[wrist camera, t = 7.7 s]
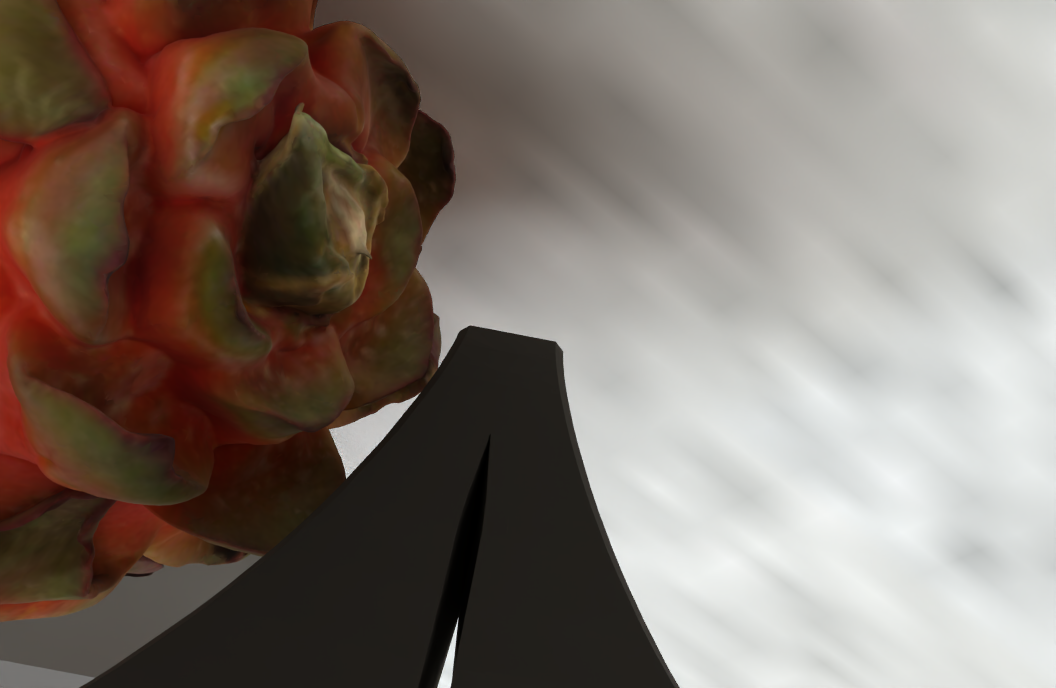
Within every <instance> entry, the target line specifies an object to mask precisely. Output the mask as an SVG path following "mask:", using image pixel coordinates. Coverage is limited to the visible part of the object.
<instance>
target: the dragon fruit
mask: <svg viewBox="0 0 1056 688" xmlns="http://www.w3.org/2000/svg"><path fill="white" fill-rule="evenodd" d="M317 2H318V0H0V622H5V621H13V620H23V619H38V618H49V617H59V616H64V615H68V614H72V613H75V612H78V611H81V610H83V609H86V608H89V607H92V606H94V605H96V604H97V603H99V602H100V601H101V600H103V599H104V598H105V597H106V596H108V595H109V594H110V593H111V592H112V591H113V590H114V589H115V587H116V586H117V585H118V584H119V583H120V581H121V580H122V579H123V577H124V576H131V577H145V576H149V575H152V574H153V573H154V572H155V571H158V570H160V569H162V568H163V567H164V565H166V566H171V567H181V566H184V565H186V564H205V565H208V566H209V565H222V564H229V563H235V562H238V561H240V560H242V559H244V558H245V557H247V556H248V555H250V554H252V555H256V556H261V557H263V556H264V555H265V554H266V553H268V552H269V551H270V550H271V549H273V548H274V547H275V546H276V545H277V544H278V543H279V542H281V541H282V540H283V539H284V538H285V537H286V536H287V535H288V534H290V533H291V532H292V531H293V530H294V529H295V528H296V527H297V526H298V525H300V524H301V523H302V522H303V521H304V520H305V519H306V518H307V517H308V516H309V515H310V514H312V513H313V512H314V511H315V510H316V509H317V508H318V507H319V506H320V505H321V504H322V503H323V502H324V501H325V500H326V499H327V498H328V497H329V496H330V495H331V494H332V493H333V492H334V491H335V490H336V489H337V488H338V487H339V486H340V485H341V484H342V483H343V482H344V481H345V480H346V475H345V469H344V466H343V463H342V460H341V457H340V455H339V453H338V450H337V448H336V445H335V443H334V440H333V438H332V436H331V434H330V431H329V430H328V429H333V428H337V427H341V426H345V425H347V424H350V423H353V422H355V421H357V420H359V419H361V418H363V417H366V416H368V415H370V414H374V413H376V412H377V411H378V410H380V409H381V408H382V407H384V406H385V405H388V404H391V403H401V402H403V401H406V400H408V399H410V398H413V397H414V396H416V395H418V394H419V393H420V392H422V390H423V389H424V387H425V386H426V385H427V383H428V382H429V381H430V379H431V378H432V376H433V375H434V374H435V372H436V371H437V369H438V360H439V356H440V352H441V333H440V327H439V317H438V316H437V315H436V314H434V313H433V305H432V298H431V294H430V291H429V288H428V286H427V284H426V282H425V280H424V279H423V277H422V276H421V275H420V273H419V272H418V271H417V269H416V268H415V267H416V264H417V261H418V257H419V255H420V253H421V251H422V246H421V245H422V243H423V242H424V239H425V237H426V235H427V234H428V232H429V229H430V227H431V225H432V223H433V222H434V220H435V218H436V216H437V215H438V213H439V212H440V210H441V209H442V208H443V207H444V206H445V205H446V204H447V203H448V202H449V201H450V199H451V198H452V196H453V192H454V185H455V181H456V174H455V166H454V150H453V146H452V142H451V138H450V135H449V133H448V131H447V130H446V129H445V128H444V127H443V125H442V124H440V123H438V122H436V121H434V120H433V119H431V118H430V117H429V116H428V115H427V114H425V113H424V112H422V111H420V110H418V109H419V104H420V101H421V97H420V92H419V88H418V85H417V84H416V82H415V81H414V80H413V79H412V77H411V75H410V73H409V71H408V69H407V67H406V66H405V64H404V63H403V61H402V59H401V58H400V57H399V56H398V55H397V54H396V53H395V52H394V51H393V50H392V49H391V48H390V47H389V46H388V45H387V44H386V43H385V42H383V41H382V40H381V39H380V38H379V37H377V36H376V35H375V34H374V33H373V32H372V31H371V30H370V29H368V28H367V27H365V26H363V25H361V24H358V23H354V22H351V21H338V22H334V23H330V24H327V25H323V26H320V27H318V28H315V29H313V22H314V15H315V9H316V6H317Z"/></svg>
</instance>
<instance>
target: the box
mask: <svg viewBox="0 0 1056 688" xmlns="http://www.w3.org/2000/svg"><path fill="white" fill-rule="evenodd" d="M260 558H262V557H261V556H256V555H252V554H250V555H248V556H247V557H245V558H244V559H242V560H240V561H238V562H235V563H229V564H222V565H209V566H208V565H205V564H186V565H184V566H181V567H171V566H166V565H164V567H163V568H162V569H160V570H158V571H155V572H154V573H153V574H152V575H149V576H145V577H131V576H124V577H123V579H122V580H121V581H120V583H119V584H118V585H117V586H116V587H115V589H114V590H113V591H112V592H111V593H110V594H109V595H108V596H106V597H105V598H104V599H103V600H101V601H100V602H99V603H97V604H96V605H94V606H92V607H89V608H86V609H83V610H81V611H78V612H75V613H72V614H68V615H64V616H59V617H49V618H38V619H23V620H13V621H5V622H0V687H1V688H79V687H81V686H83V685H84V684H86V683H88V682H89V681H91V680H93V679H94V678H96V677H97V676H99V675H100V674H102V673H104V672H105V671H107V670H108V669H110V668H111V667H113V666H114V665H116V664H117V663H119V662H120V661H122V660H123V659H125V658H126V657H128V656H129V655H131V654H132V653H133V652H135V651H136V650H138V649H139V648H141V647H142V646H144V645H145V644H146V643H148V642H149V641H151V640H152V639H154V638H155V637H157V636H158V635H160V634H161V633H162V632H164V631H165V630H167V629H168V628H170V627H171V626H173V625H174V624H175V623H177V622H178V621H180V620H181V619H183V618H184V617H186V616H187V615H189V614H190V613H191V612H193V611H194V610H196V609H197V608H198V607H200V606H201V605H202V604H204V603H205V602H206V601H208V600H209V599H210V598H212V597H213V596H214V595H215V594H217V593H218V592H219V591H221V590H222V589H223V588H225V587H226V586H227V585H228V584H230V583H231V582H232V581H233V580H235V579H236V578H237V577H238V576H239V575H241V574H242V573H243V572H244V571H246V570H247V569H248V568H249V567H251V566H252V565H253V564H254V563H255V562H257V561H258V560H259V559H260Z"/></svg>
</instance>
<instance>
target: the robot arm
mask: <svg viewBox="0 0 1056 688" xmlns="http://www.w3.org/2000/svg"><path fill="white" fill-rule="evenodd" d="M458 617H459V619H458ZM457 620H458V629H457V638H456V648H455V657H454V667H453V676H452V684H451V688H679V686H678V684H677V683H676V681H675V679H674V677H673V676H672V674H671V672H670V670H669V669H668V667H667V665H666V663H665V661H664V659H663V657H662V655H661V653H660V651H659V649H658V647H657V645H656V643H655V641H654V639H653V637H652V635H651V634H650V632H649V630H648V628H647V626H646V624H645V622H644V620H643V617H642V615H641V613H640V611H639V609H638V607H637V604H636V602H635V600H634V598H633V596H632V594H631V592H630V589H629V587H628V585H627V583H626V580H625V578H624V576H623V573H622V571H621V569H620V566H619V564H618V561H617V559H616V556H615V554H614V551H613V549H612V546H611V544H610V541H609V538H608V536H607V533H606V530H605V528H604V525H603V522H602V520H601V517H600V514H599V511H598V509H597V506H596V503H595V500H594V497H593V494H592V491H591V488H590V484H589V481H588V477H587V474H586V471H585V467H584V464H583V460H582V457H581V453H580V450H579V447H578V443H577V439H576V435H575V431H574V427H573V422H572V418H571V413H570V408H569V403H568V398H567V392H566V386H565V378H564V368H563V351H562V349H561V348H560V347H559V345H558V344H557V343H556V342H554V341H549V340H544V339H539V338H533V337H528V336H523V335H518V334H512V333H507V332H502V331H497V330H491V329H486V328H481V327H476V326H468V327H467V328H465V329H463V330H461V331H460V332H459V334H458V336H457V338H456V340H455V342H454V344H453V345H452V347H451V349H450V350H449V352H448V354H447V355H446V357H445V359H444V360H443V362H442V363H441V365H440V366H439V368H438V369H437V371H436V372H435V374H434V375H433V376H432V378H431V379H430V381H429V382H428V383H427V385H426V386H425V387H424V389H423V390H422V392H421V393H420V394H419V396H418V397H417V398H416V400H415V401H414V402H413V403H412V404H411V406H410V407H409V408H408V409H407V411H406V412H405V413H404V414H403V416H402V417H401V418H400V419H399V420H398V422H397V423H396V424H395V425H394V427H393V428H392V429H391V430H390V432H389V433H388V434H387V435H386V436H385V438H384V439H383V440H382V441H381V442H380V443H379V444H378V446H377V447H376V448H375V449H374V450H373V451H372V452H371V453H370V454H369V455H368V456H367V457H366V458H365V459H364V461H363V462H362V463H361V464H360V465H359V466H358V467H357V468H356V469H355V470H354V471H353V472H352V473H351V474H350V476H349V477H348V478H347V479H346V480H345V481H344V482H343V483H342V484H341V485H340V486H339V487H338V488H337V489H336V490H335V491H334V492H333V493H332V494H331V495H330V496H329V497H328V498H327V499H326V500H325V501H324V502H323V503H322V504H321V505H320V506H319V507H318V508H317V509H316V510H315V511H314V512H313V513H312V514H310V515H309V516H308V517H307V518H306V519H305V520H304V521H303V522H302V523H301V524H300V525H298V526H297V527H296V528H295V529H294V530H293V531H292V532H291V533H290V534H288V535H287V536H286V537H285V538H284V539H283V540H282V541H281V542H279V543H278V544H277V545H276V546H275V547H274V548H273V549H271V550H270V551H269V552H268V553H266V554H265V555H264V556H263V557H262V558H260V559H259V560H258V561H257V562H255V563H254V564H253V565H252V566H251V567H249V568H248V569H247V570H246V571H244V572H243V573H242V574H241V575H239V576H238V577H237V578H236V579H235V580H233V581H232V582H231V583H230V584H228V585H227V586H226V587H225V588H223V589H222V590H221V591H219V592H218V593H217V594H215V595H214V596H213V597H212V598H210V599H209V600H208V601H206V602H205V603H204V604H202V605H201V606H200V607H198V608H197V609H196V610H194V611H193V612H191V613H190V614H189V615H187V616H186V617H184V618H183V619H181V620H180V621H178V622H177V623H175V624H174V625H173V626H171V627H170V628H168V629H167V630H165V631H164V632H162V633H161V634H160V635H158V636H157V637H155V638H154V639H152V640H151V641H149V642H148V643H146V644H145V645H144V646H142V647H141V648H139V649H138V650H136V651H135V652H133V653H132V654H131V655H129V656H128V657H126V658H125V659H123V660H122V661H120V662H119V663H117V664H116V665H114V666H113V667H111V668H110V669H108V670H107V671H105V672H104V673H102V674H100V675H99V676H97V677H96V678H94V679H93V680H91V681H89V682H88V683H86V684H84V685H83V686H81V687H79V688H437V686H438V683H439V680H440V677H441V673H442V670H443V667H444V663H445V660H446V657H447V653H448V650H449V647H450V643H451V640H452V637H453V633H454V630H455V627H456V624H457ZM0 688H1V687H0Z"/></svg>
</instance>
